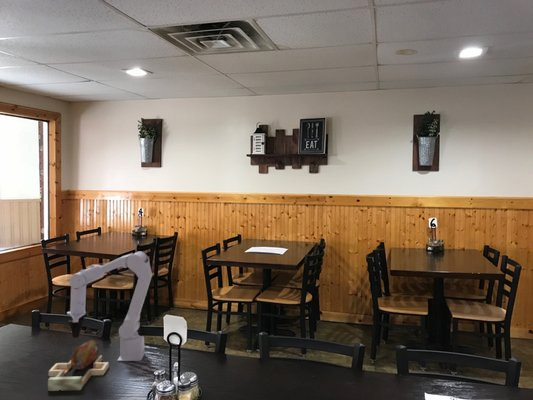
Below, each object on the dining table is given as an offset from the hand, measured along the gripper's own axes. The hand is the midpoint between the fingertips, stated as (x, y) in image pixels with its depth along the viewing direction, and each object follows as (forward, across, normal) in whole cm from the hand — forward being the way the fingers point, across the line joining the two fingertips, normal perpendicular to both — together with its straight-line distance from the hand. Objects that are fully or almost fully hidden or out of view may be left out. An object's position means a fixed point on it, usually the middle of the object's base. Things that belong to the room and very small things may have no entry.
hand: (76, 333), depth 179 cm
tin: (+10, +8, +4) cm, 14 cm away
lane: (+10, +16, +3) cm, 19 cm away
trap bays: (+10, +15, +3) cm, 18 cm away
